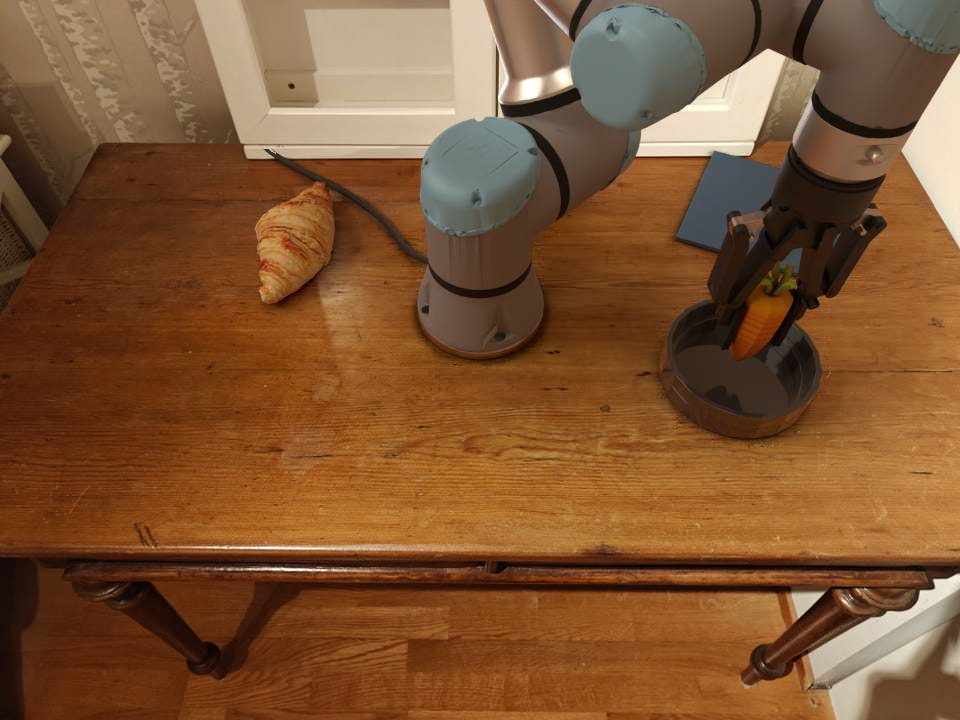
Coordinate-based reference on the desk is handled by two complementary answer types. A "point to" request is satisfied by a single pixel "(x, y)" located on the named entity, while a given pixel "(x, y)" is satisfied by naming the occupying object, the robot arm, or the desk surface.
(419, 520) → the desk surface
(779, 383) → the pan
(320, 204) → the croissant
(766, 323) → the carrot
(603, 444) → the desk surface
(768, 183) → the mat
